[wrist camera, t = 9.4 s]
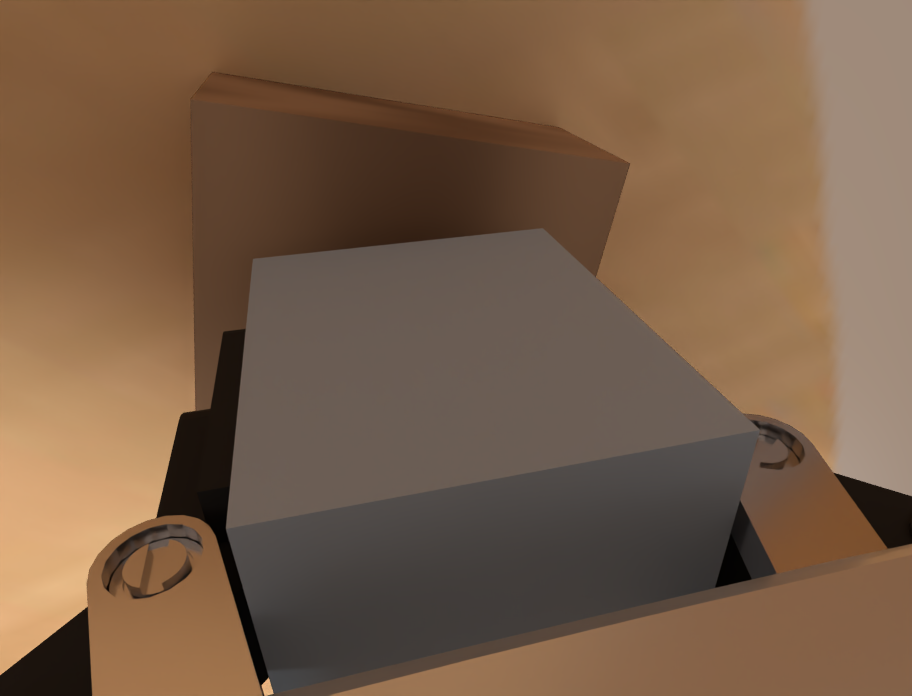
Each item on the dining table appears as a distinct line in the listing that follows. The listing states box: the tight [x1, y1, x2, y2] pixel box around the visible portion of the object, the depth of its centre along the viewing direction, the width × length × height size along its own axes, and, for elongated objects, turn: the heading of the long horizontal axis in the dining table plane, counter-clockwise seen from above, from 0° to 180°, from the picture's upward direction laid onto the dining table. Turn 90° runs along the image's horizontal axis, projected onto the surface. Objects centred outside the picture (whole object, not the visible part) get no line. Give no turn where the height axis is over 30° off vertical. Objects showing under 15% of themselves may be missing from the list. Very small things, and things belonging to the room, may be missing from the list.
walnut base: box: [191, 72, 630, 411], centre depth 15 cm, size 8×8×4 cm
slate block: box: [226, 228, 760, 694], centre depth 9 cm, size 5×5×6 cm
